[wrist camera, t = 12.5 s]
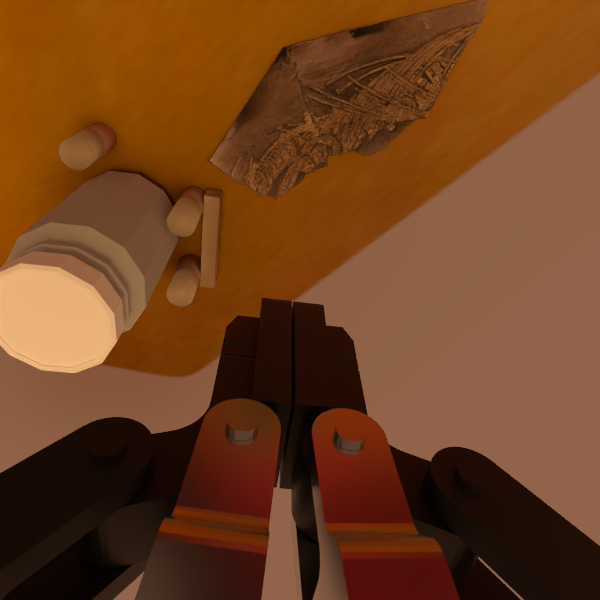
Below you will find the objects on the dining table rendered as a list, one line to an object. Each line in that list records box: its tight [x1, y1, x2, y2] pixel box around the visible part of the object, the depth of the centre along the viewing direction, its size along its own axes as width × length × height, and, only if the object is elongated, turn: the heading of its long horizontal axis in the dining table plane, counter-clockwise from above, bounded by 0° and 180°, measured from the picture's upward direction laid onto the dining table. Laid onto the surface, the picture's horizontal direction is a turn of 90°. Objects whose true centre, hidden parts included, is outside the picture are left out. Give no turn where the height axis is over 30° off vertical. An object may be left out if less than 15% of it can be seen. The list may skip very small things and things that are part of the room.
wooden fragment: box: [209, 0, 488, 200], centre depth 40 cm, size 26×11×1 cm, turn 116°
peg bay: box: [59, 123, 222, 307], centre depth 43 cm, size 12×18×6 cm, turn 172°
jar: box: [0, 171, 178, 373], centre depth 37 cm, size 10×10×18 cm
